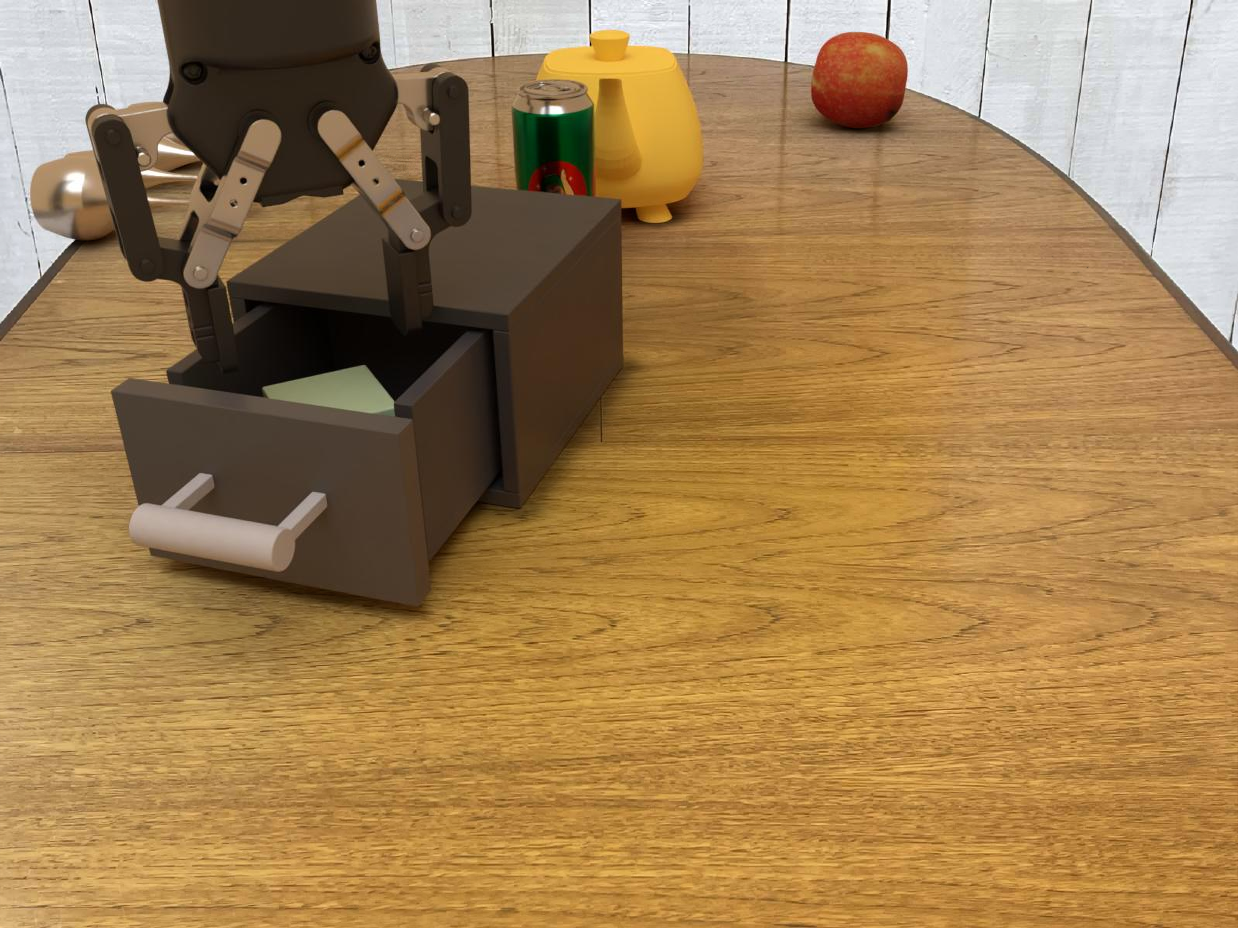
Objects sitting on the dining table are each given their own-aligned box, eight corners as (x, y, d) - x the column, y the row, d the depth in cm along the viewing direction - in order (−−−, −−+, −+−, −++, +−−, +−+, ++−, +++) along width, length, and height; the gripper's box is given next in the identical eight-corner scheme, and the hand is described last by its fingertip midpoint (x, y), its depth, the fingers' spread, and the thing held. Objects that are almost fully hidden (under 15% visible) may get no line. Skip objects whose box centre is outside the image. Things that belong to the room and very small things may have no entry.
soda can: (548, 254, 85) (540, 73, 79) (612, 267, 83) (609, 82, 77) (505, 279, 81) (493, 91, 75) (570, 293, 79) (564, 101, 73)
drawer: (367, 675, 46) (340, 493, 42) (83, 616, 49) (33, 442, 45) (548, 436, 61) (541, 286, 57) (322, 403, 65) (301, 259, 61)
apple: (825, 110, 116) (832, 20, 112) (915, 120, 113) (925, 27, 109) (797, 132, 110) (803, 37, 106) (891, 142, 107) (900, 46, 103)
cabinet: (520, 509, 57) (508, 314, 52) (259, 466, 61) (225, 281, 56) (623, 365, 70) (621, 198, 65) (403, 337, 74) (385, 177, 69)
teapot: (515, 258, 85) (505, 70, 78) (527, 168, 102) (519, 8, 96) (714, 254, 85) (719, 66, 78) (692, 165, 102) (695, 5, 96)
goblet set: (323, 148, 110) (176, 142, 111) (316, 81, 107) (166, 76, 108) (206, 257, 86) (19, 249, 87) (193, 174, 83) (0, 167, 84)
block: (305, 528, 52) (289, 431, 50) (277, 478, 56) (261, 386, 54) (410, 500, 54) (399, 406, 52) (376, 454, 58) (365, 363, 55)
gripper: (418, -114, 49) (451, 284, 57) (21, -90, 43) (122, 348, 52) (491, -95, 43) (516, 345, 51) (44, -64, 37) (153, 424, 46)
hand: (318, 345), depth 51 cm, fingers open, 7 cm apart
